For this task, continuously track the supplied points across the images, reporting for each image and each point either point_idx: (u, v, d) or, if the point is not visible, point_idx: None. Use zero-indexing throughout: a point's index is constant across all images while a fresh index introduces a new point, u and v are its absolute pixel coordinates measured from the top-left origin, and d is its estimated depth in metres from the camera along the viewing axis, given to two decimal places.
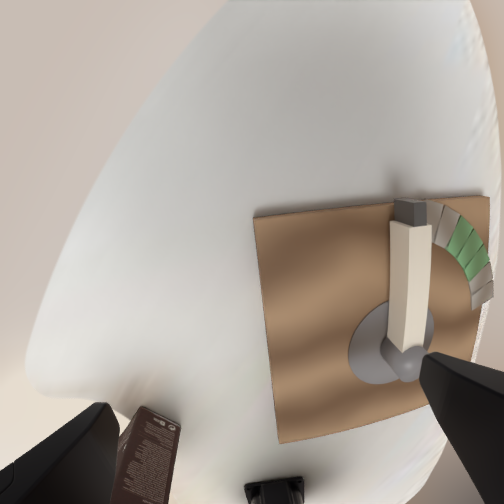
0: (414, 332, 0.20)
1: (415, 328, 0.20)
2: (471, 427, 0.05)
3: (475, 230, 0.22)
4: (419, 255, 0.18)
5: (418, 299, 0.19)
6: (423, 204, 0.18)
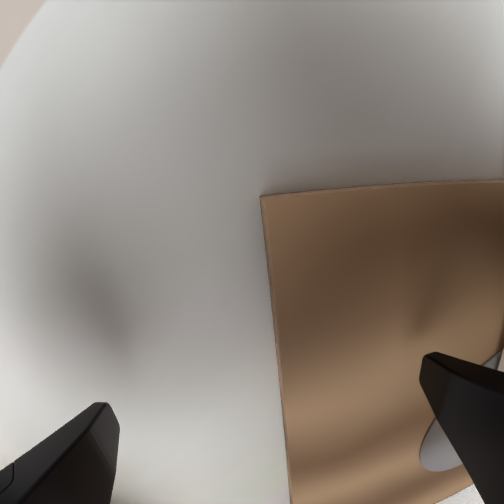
0: None
1: None
2: (471, 427, 0.05)
3: None
4: None
5: None
6: None
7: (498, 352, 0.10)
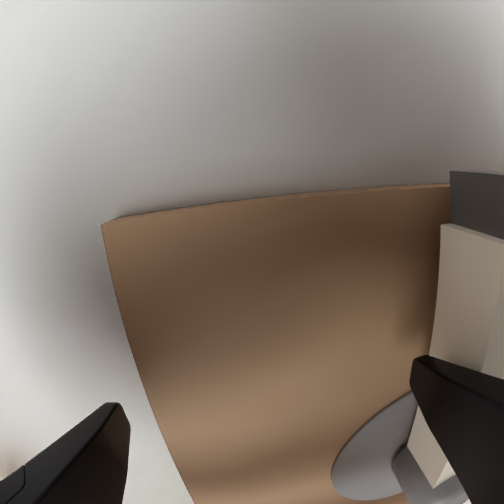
0: None
1: None
2: (460, 432, 0.05)
3: None
4: None
5: None
6: None
7: None
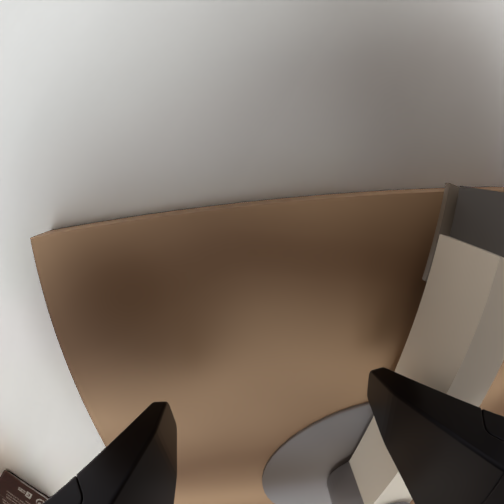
0: None
1: None
2: (412, 453, 0.05)
3: None
4: (494, 334, 0.06)
5: None
6: None
7: (350, 407, 0.10)
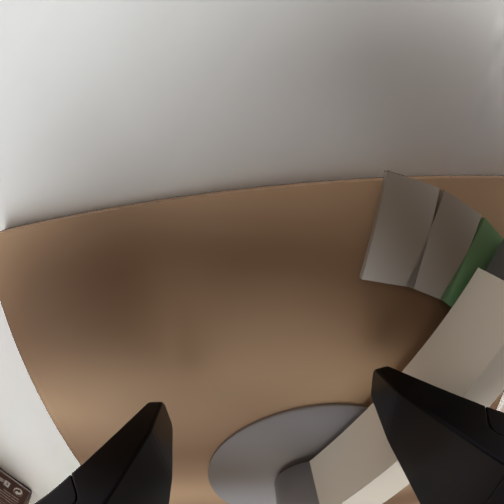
0: (373, 496, 0.07)
1: (381, 491, 0.07)
2: (417, 452, 0.05)
3: None
4: None
5: None
6: None
7: (289, 410, 0.10)
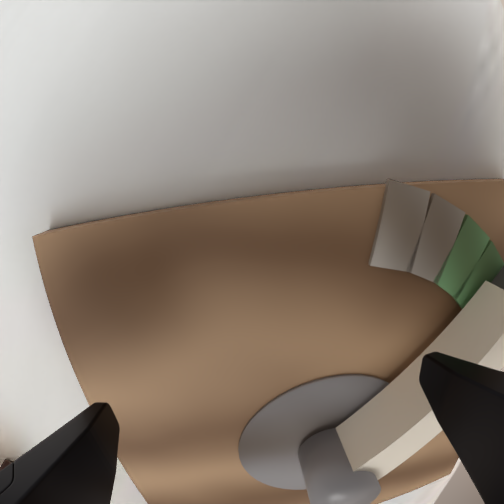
0: (395, 454, 0.09)
1: (402, 450, 0.09)
2: (471, 427, 0.05)
3: (493, 243, 0.11)
4: (503, 350, 0.09)
5: None
6: None
7: (312, 380, 0.12)
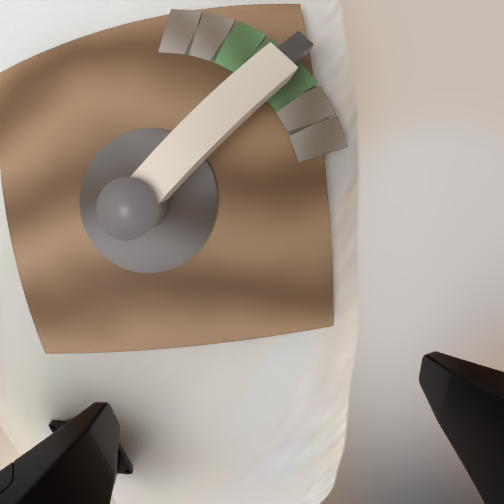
0: (165, 164, 0.13)
1: (171, 160, 0.13)
2: (471, 427, 0.05)
3: (275, 40, 0.15)
4: (254, 76, 0.13)
5: (206, 124, 0.13)
6: (307, 42, 0.13)
7: (125, 133, 0.16)
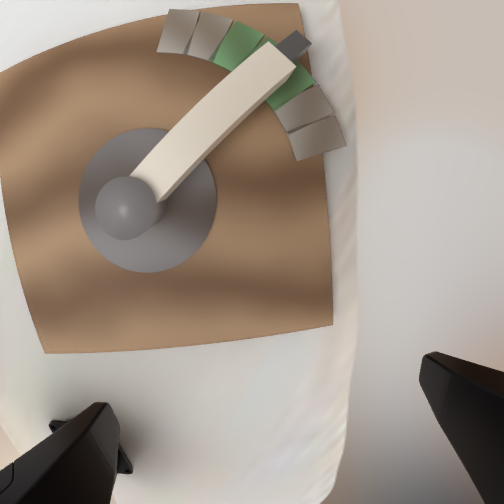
0: (164, 164, 0.13)
1: (169, 159, 0.13)
2: (471, 427, 0.05)
3: (273, 40, 0.15)
4: (252, 75, 0.13)
5: (205, 123, 0.13)
6: (305, 41, 0.13)
7: (124, 132, 0.16)
